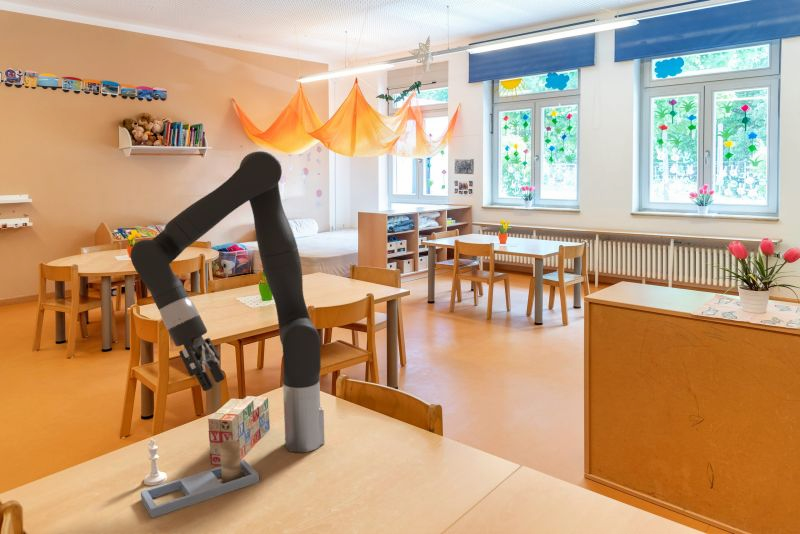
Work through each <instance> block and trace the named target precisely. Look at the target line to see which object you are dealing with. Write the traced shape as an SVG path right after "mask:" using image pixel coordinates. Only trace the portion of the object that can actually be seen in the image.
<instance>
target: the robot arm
mask: <svg viewBox="0 0 800 534" xmlns="http://www.w3.org/2000/svg"><path fill="white" fill-rule="evenodd" d="M239 164H240V165H239V168H238V169H236V171H235V172H234V173H233V174H232V175H231V176H230V177H229V178H228V179H226V180H225V181H224V182H223V183H222V184H220V185H219V186H218V187H217V188H215V189H214V190H212V191H211V192H209V193H208V194H206V195H204V196H202V198H200V199H198V200H197V201H195V202H193V203H191V204H190V205H189V206H188V207H186V208H184V210H182V211H181V212H180V213H178V214H177V215H176V216H175V217H173V218H172V219H171V220H170V221H168V222H167V223H166V224H165V226H164V229H163V230H162V231H160V233H159V234H157V235H156V236H155V237H154V238H152V239H143V240H139V241H136V243H135V244H134V245H133V246H132V248H131V250H130V254H129V255H130V256H129V257H130V261H131V264H132V266H133V267H134V269H135V271H136V272H137V274H138V276H139V278H140V279H141V280H142V282H143V284H144V285H145V286H146V287H147V289H148V290H149V293H150V295H151V298H152V299H153V301H154V304H155V305H156V308H157V309H158V312H159V314H160V317H161V320H162V322H163V324H164V326H165V328H166V330H167V332H168V333H169V336H170V338H171V340H172V342H173V343H174V346H175V347H181V346H183V347H184V349H183V348H182V349H181V350H179V351H178V353H179V355H180V358H181V360H182V362H183V363H184V366H185V368H186V370H187V372H188V374H189V376H190V377H192V376H194V377H196V379H197V381H198V383H199V385H200V387H201V389H202V391H203V392H207V391H208V390H209V391H210V390H211V389H213V388H214V384H213V382H212V380H211V377H210V376H209V374H208V372H207V371H206V367H207V368H208V370H209V371H210V373H211V376H212V377H213V379H214V382H215V383H220V382H221V381H223V380H225V379H226V378H225V377H226V376H225V374H224V373H223V371H222V369H221V367H220V365H219V364H220V360H221V357H220V355H219V353H218V351H217V350H216V347H215V346H214V343H213V341H212V340H211V338H209V337H207V338H204V337H203V336H204V335H205V334H207V332H208V329H207V327H206V325H205V323H204V321H203V319H202V317H201V316H200V313H199V312H198V309H197V308H196V306H195V304H194V302H193V301H192V300H191V299H192V298H190V296H189V294H188V292H187V291H186V288H185V286H184V285H183V282H182V281H181V279H180V278H179V277H178V276H177V275H176V274H175V273H174V271H173V268H172V267H171V265H170V264H171V263H172V262H174V261H175V260H176V258H178V257H179V256H180V255H181V254H182V253H183V251H184V250H185V249H187V248H188V247H189V246H191V245H192V244H194V243H195V242H196V241H198V240H199V239H200V238H202V237H203V236H204V235H206V234H207V233H208V232H210V230H212V229H213V228H214V227H216V226H217V225H218V224H219V223H220V222H221V221H222V220H224V219H225V218H226V217H228V215H230V214H231V213H233V212H234V211H235V210H237V209H239V208H240V207H241V206H242V205H244V204H245V203H247V202H249V204H250V207H251V210H252V215H253V221H254V230H255V231H254V232H255V236H256V243H257V247H258V253H259V256H260V261H261V266H262V269H263V273H264V276H265V278H266V281H267V282H266V283H267V285H268V287H269V290H270V292H271V295H272V297H273V300H274V304H275V305H274V306H275V309H276V314H277V321H278V323H277V324H278V331H279V332H278V333H279V340H280V343H281V345H282V346H281V347H282V361H283V362H282V363H283V371H282V391H283V392H282V393H283V395H282V397H283V415H284V417H283V418H284V420H283V421H284V441H285V443H284V444H285V448H286V450H288V451H290V452H293V453H308V452H312V451H315V450H317V449H319V447H321V446H322V445H324V444H325V411H324V408H322V407H321V390H320V389H321V388H320V376H321V375H320V374H321V370H322V369H321V368H322V365H321V364H322V363H321V360H322V359H321V355H322V353H321V337H320V334H319V331H318V330H317V328H316V326H315V325H314V324H313V321H312V319H311V317H310V316H311V315H310V314H309V310H308V307H307V305H306V301H305V297H304V296H305V295H304V291H303V290H304V287H303V283H304V282H303V281H304V279H303V269H302V262H301V257H300V253H299V249H298V244H297V240H296V237H295V234H294V231H293V228H292V226H291V224H290V222H289V220H288V217H287V215H286V213H285V210H284V206H283V204H282V200H281V193H280V185H279V182H280V181H281V178H282V173H283V171H282V164H281V163H280V161H279V159H278V158H277V157H276V156H275V155H273V154H271V153H270V152H266V151H263V150H262V151H259V150H258V151H253V152H250V153H248V154H247V155H245V156H244V157H243V159H242V160H241V162H240V163H239Z"/></svg>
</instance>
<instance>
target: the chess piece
mask: <svg viewBox="0 0 800 534" xmlns="http://www.w3.org/2000/svg"><path fill="white" fill-rule="evenodd" d="M155 444H157V440H154V439H153V438H151V439H150V442H149V443H148V446H149V447H148V448H147V450H148V453H149V454H150V456H149V457H148V460H149V461H151V468H150V469H151V470H150V473H149V474H147V475H145V476H144V481H143V483H144V484H145V485H146V486H159V485H162V484H164V482H166V480H167V479H168V477H167V474H166V472H163V471H160V470H159V465H158V461H157V459H159V457H160V456H159V455H158V454H157V451H158V449H159V447H158V446H157V445H155Z"/></svg>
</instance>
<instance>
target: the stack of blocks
mask: <svg viewBox="0 0 800 534" xmlns="http://www.w3.org/2000/svg"><path fill="white" fill-rule="evenodd" d="M207 419H208V423H207V424H208V438H209V439H208V440H209V449H210V450H209V451H210V456H209V457H210V465H213V466H218V467H221V458H220V444H221V443H222V442H224V441H228V440H237V441H239V442H240V456H241V460H243V459H244V458H245V457H246V455H248V454H249V452H250V451H251V450H252V448H253V447H254V446H255V445H256V444H257V443H258V442H259V441H260V440H261V439H262V438H263V436H264V435H266V433H267V432H268V431H269V430H270V428H271V425H270V409H269V397H267V396H266V397H265V396H253V395H251V396H250V395H246V397H244V398H242V399H241V398H240V399H239V398H230V399H229V400H228V401H227V402H226V403H225V404H223V406H221V407H220V408H219V409H218V410H217V411H215V412H214V413H213V414H211V415H210V416H209V417H208V418H207Z"/></svg>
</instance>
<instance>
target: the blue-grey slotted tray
mask: <svg viewBox="0 0 800 534" xmlns="http://www.w3.org/2000/svg"><path fill="white" fill-rule="evenodd" d="M241 473H243V474H244V475H245V476H242V478H239V479H236V480H233V481H230V482H227V483H224V484H222V481H220V480H219V477H222V474H221V466H218V467H215V468H211V469H208V470H205V471H202V472H199V473H195V474H192V475H190V476H189V475H188V476H186V477H185V476H184V477H182V478H179V479H176V480H173V481H169V482H167V483H162V484H158V485H155V486H153V487H150V488H146V489H144V490H140V499H141V502H142V503H143V505H144V507H145V508H146V510H147V513H148V514H149V516H150V517H151V519H154V518H156V517H159V516H162V515H165V514H168V513H170V512H171V513H172V512H174V511H177V510H180V509H183V508H186V507H188V506H191V505H195V504H198V503H201V502H204V501H208V500H210V499H212V498H215V497H219V496H222V495H224V494H228V493H230V492H233V491H236V490H238V489H242V488H246V487H249V486H251V485H255V484H257V483H259V482H260V481H259V480H260V479H259V478H260V477H259V476H260V475H259V472H258V471H256V469H254V468H253V467H252V466H251V465H250V464H249V463H248V461H247V460H246V459H244V458H243V459H242V460H241ZM178 490H181V491H182V493H183V494H184V495H185V496H181V497H178V498H175V499H173V500H170V501H166V502H163V503H160V504H157V505H156V502H155V501H154V500H153V499H154V498H156V497H160V496H163V495H166V494H170V493H172V492H175V491H176V492H177V491H178Z"/></svg>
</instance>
